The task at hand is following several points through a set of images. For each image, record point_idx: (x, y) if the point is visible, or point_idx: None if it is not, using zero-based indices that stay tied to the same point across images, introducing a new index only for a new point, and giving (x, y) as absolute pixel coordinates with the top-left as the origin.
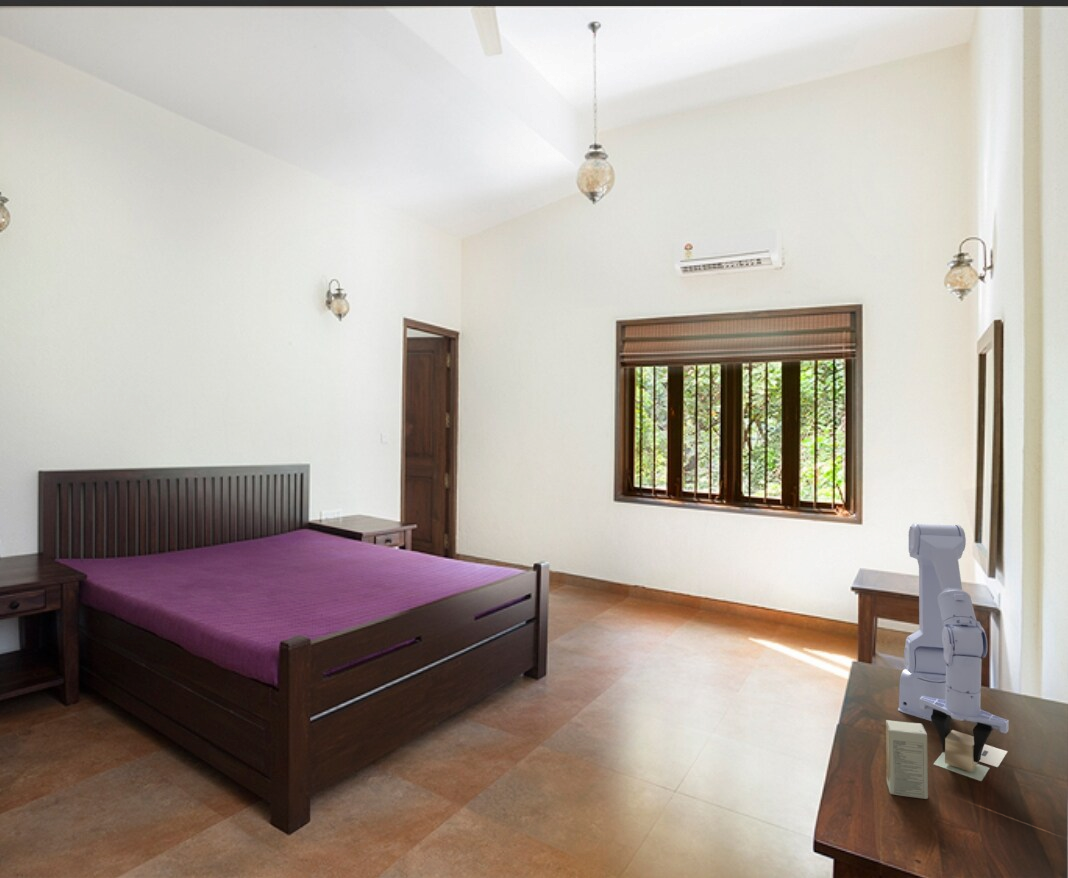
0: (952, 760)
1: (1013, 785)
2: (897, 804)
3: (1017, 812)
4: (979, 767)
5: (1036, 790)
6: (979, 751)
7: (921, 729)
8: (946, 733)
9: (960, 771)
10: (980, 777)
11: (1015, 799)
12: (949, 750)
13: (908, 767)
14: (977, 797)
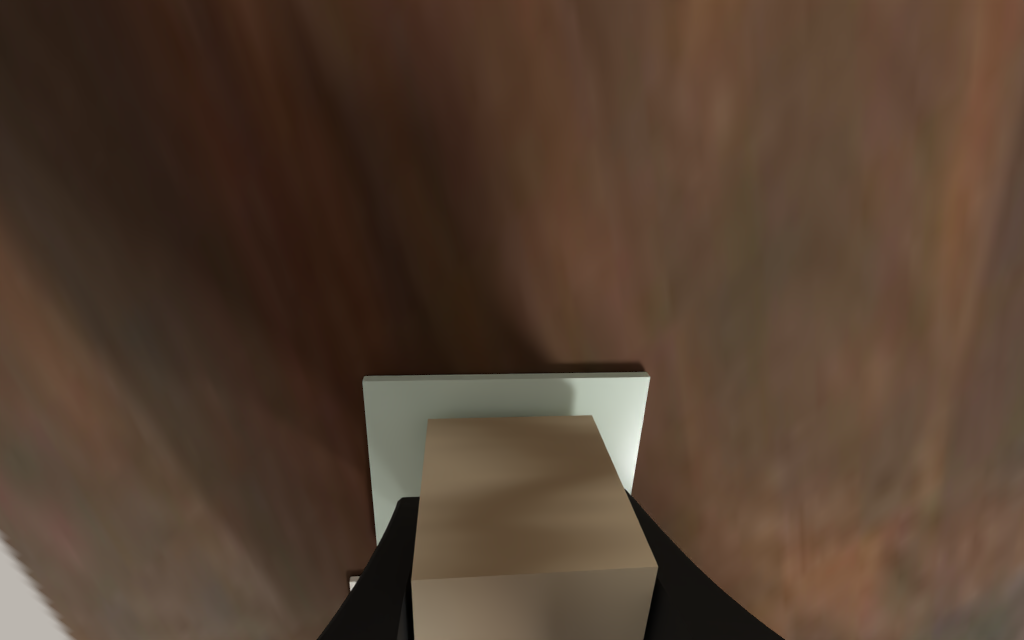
0: (552, 437)
1: (217, 469)
2: None
3: (27, 138)
4: None
5: (105, 502)
6: (363, 572)
7: None
8: (663, 633)
9: (494, 401)
10: (380, 416)
11: (129, 316)
12: (590, 485)
13: None
14: (313, 153)
